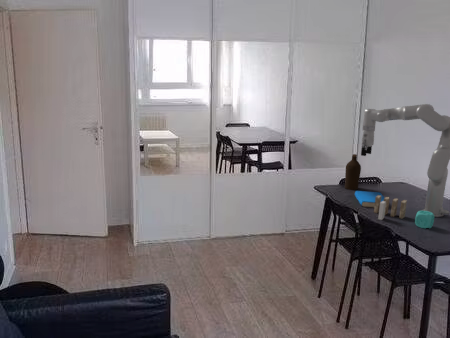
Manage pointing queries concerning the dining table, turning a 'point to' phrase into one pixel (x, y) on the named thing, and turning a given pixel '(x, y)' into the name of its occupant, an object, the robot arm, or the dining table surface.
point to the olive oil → (352, 173)
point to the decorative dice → (424, 219)
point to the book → (367, 198)
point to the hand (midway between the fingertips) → (366, 154)
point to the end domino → (382, 210)
